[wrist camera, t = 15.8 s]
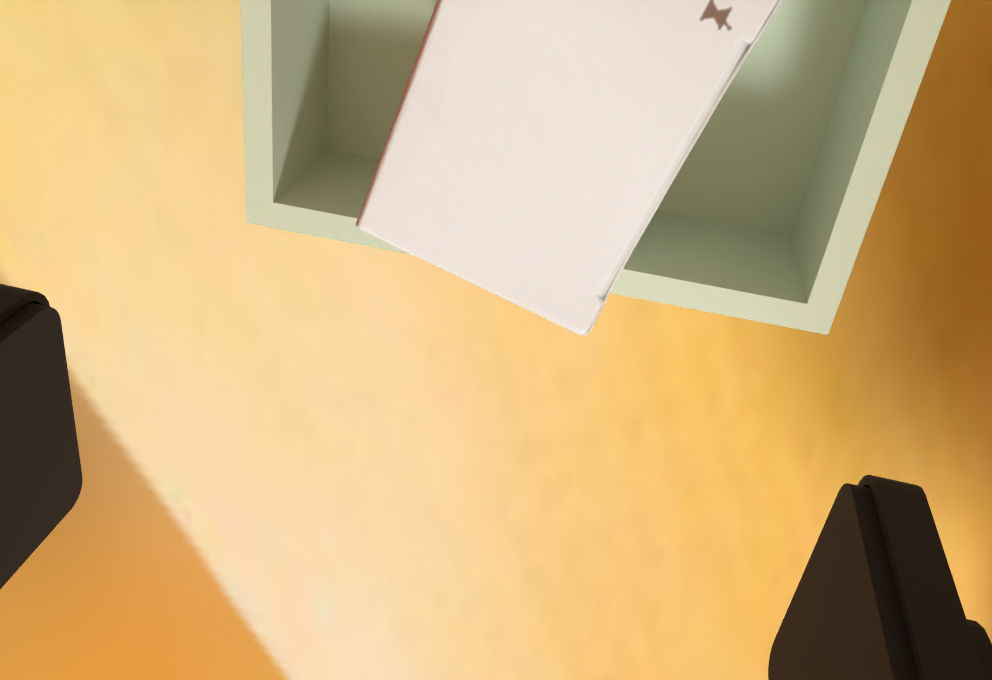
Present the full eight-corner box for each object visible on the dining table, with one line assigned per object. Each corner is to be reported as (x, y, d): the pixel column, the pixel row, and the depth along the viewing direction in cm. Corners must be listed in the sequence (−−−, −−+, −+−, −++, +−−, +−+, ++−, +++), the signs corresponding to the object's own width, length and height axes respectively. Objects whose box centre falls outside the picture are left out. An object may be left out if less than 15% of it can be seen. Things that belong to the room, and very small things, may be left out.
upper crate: (964, -220, 23) (1032, -222, 18) (807, 252, 29) (828, 334, 25) (317, -308, 24) (231, -330, 20) (311, 160, 31) (246, 223, 26)
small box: (567, -186, 24) (493, -170, 15) (758, -88, 24) (798, -16, 15) (454, 92, 28) (343, 232, 19) (618, 171, 28) (585, 346, 19)
